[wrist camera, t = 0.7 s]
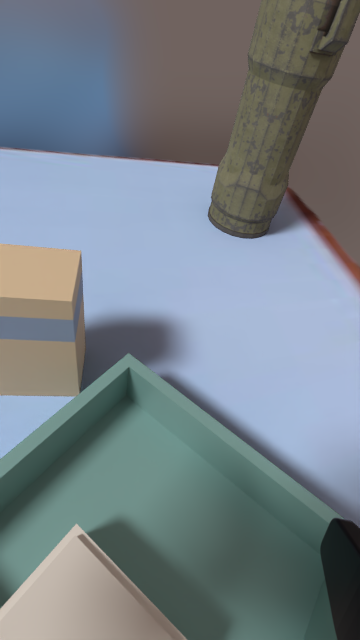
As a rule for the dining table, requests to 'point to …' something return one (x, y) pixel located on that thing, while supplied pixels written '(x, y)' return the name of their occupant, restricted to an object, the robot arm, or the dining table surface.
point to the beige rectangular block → (82, 600)
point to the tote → (169, 511)
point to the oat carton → (41, 321)
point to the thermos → (277, 107)
